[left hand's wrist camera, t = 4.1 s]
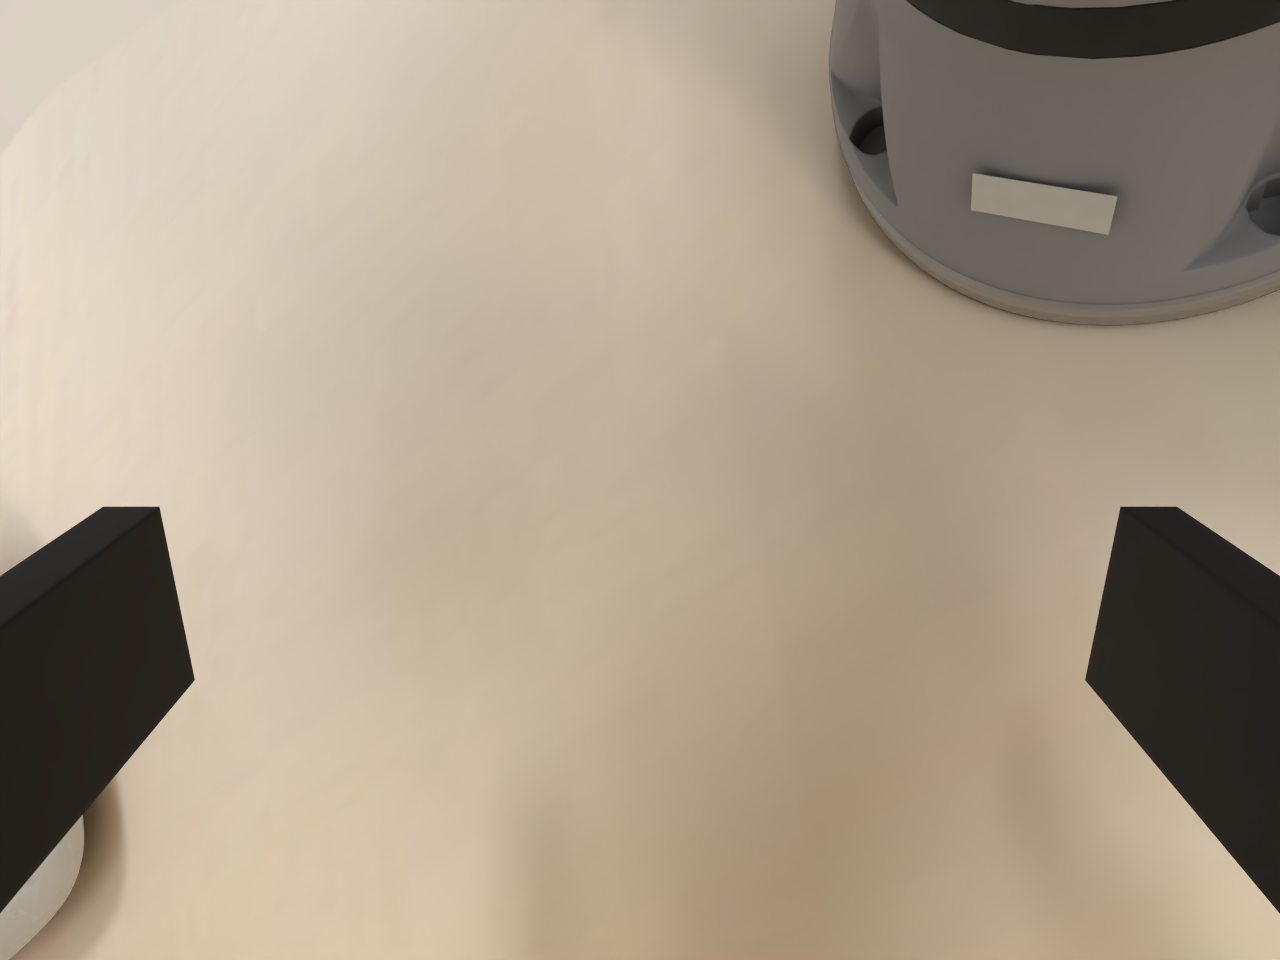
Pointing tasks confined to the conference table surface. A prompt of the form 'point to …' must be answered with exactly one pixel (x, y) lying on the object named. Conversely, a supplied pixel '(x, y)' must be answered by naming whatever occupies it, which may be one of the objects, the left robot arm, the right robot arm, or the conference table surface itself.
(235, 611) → the conference table surface
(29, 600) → the left robot arm
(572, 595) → the conference table surface
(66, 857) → the projector
